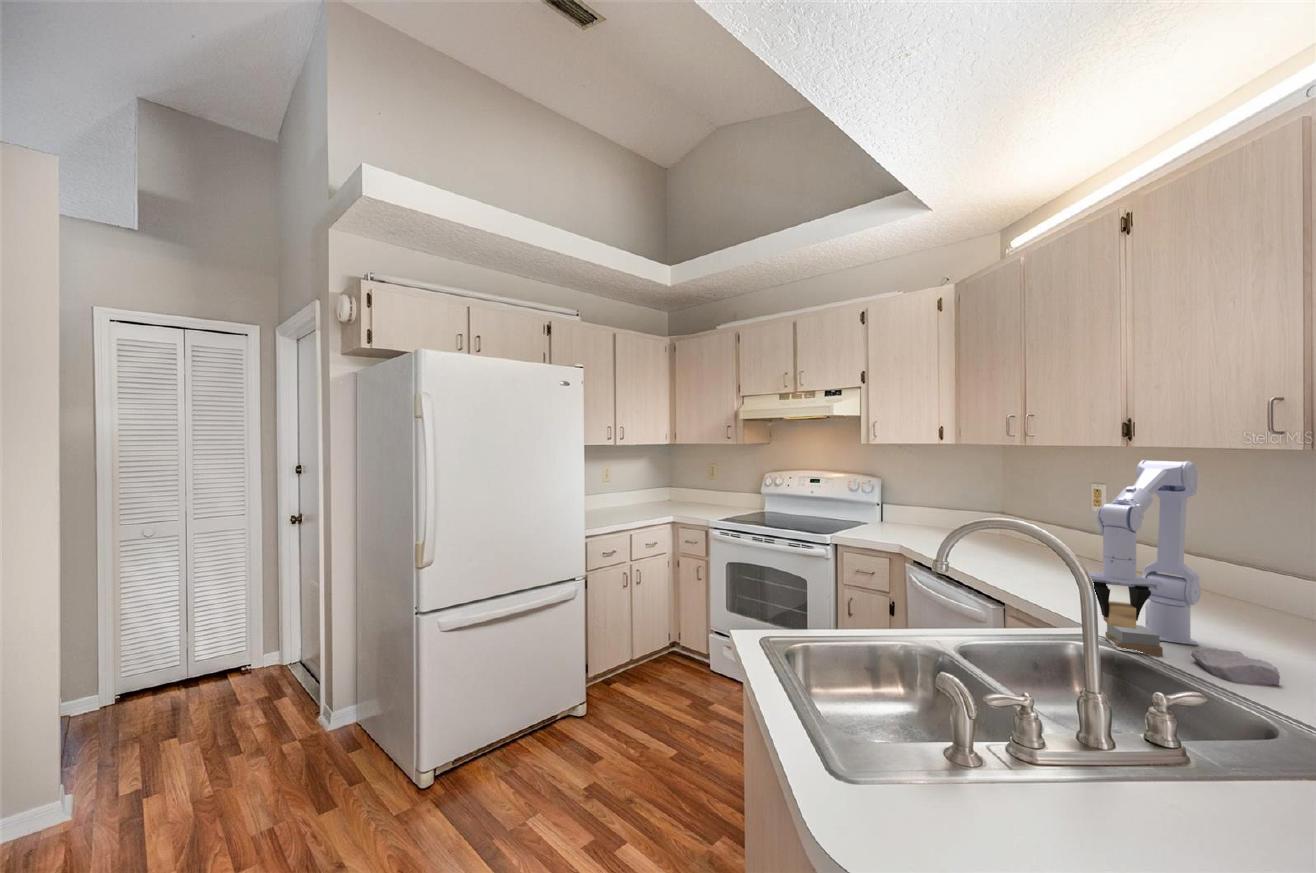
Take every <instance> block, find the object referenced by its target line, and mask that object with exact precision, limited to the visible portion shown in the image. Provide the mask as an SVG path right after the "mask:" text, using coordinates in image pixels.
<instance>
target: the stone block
mask: <svg viewBox="0 0 1316 873" xmlns="http://www.w3.org/2000/svg"><path fill="white" fill-rule="evenodd" d="M1190 656H1191V657H1192V659H1193V660H1194V661H1195V662H1196V663H1197V664H1199V665H1200V666H1201V667H1203V668H1204V669H1205V670H1206V671H1208V672H1209V673H1210V674H1212V675H1213V676H1215V677H1218V678H1220V679H1224V680H1226V681H1229V682H1232V683H1237V684H1244V685H1258V686H1259V685H1261V686H1262V685H1263V686H1275V687H1276V686H1277V687H1279V685H1280V684H1281V683H1280V682H1281V681H1280V680H1281V675H1280V672H1279V671H1278V668H1277V667H1276V666H1275V665H1273V664H1272V663H1271V662H1269V661H1265V660H1261V659H1255V658H1251V657H1248V656H1246V655H1245V654H1243V653H1242V651H1239V650H1227V649H1226V650H1225V649H1219V648H1216V647H1200V648H1193V649H1192V650H1191V652H1190Z"/></svg>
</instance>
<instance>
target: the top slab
mask: <svg viewBox="0 0 1316 873" xmlns="http://www.w3.org/2000/svg"><path fill="white" fill-rule="evenodd" d="M1106 632H1107V633H1108V634H1110V635H1111V636H1113V637H1114V638H1116V639H1117V640H1119V641H1120V642H1122V643H1129V644H1139V645H1149V646H1159V647H1160V646H1161V645H1160V642H1161V641H1160V635H1158V634H1156V633H1154V632H1152V631H1151V630H1149V629H1147V628H1145V626H1144V625H1138V624H1136V629H1133V628H1125V627H1116V626H1110V625H1109V624H1108V623H1107V622H1106Z"/></svg>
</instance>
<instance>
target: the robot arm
mask: <svg viewBox="0 0 1316 873" xmlns="http://www.w3.org/2000/svg"><path fill="white" fill-rule="evenodd" d="M1135 474H1136V480H1135V482H1134V483H1133V485H1132V486H1126V487H1125V488H1123V489H1122V491H1120V493H1119V494H1117V496H1116V497H1115V498H1114V499H1113V500H1112V502H1111V503H1105V504H1104V505H1100V507H1099V509H1098V512H1097V515H1096V516H1097V518H1096V519H1097V523H1098V526H1099V533H1100V536H1102V573H1101V572H1100V573H1099V572H1097V573H1095V572H1094V573H1093V572H1088V573H1089V575H1090V577H1091V579H1092V581H1093V583H1094V589H1095V592H1096V594H1095V596H1096V595H1097V597H1096V599H1097V602H1098V604H1099V607H1100V611H1101V612H1100V613H1101V615H1102V617H1103V616H1104V617H1108V618H1109V601H1110V594H1111V589H1110V588H1109V587H1108V585H1109V586H1120V587H1128V593H1129V604H1131V605H1132V606H1134V607H1135V608H1136V622H1137V621H1138V620H1139V618H1140V617H1139V616H1140V613H1141V611H1142V608H1143V607H1144V605H1145V607H1144V608H1145V617H1144V618H1145V626H1144V627H1145V628H1147V629H1149V630H1151V631H1152V632H1154V633H1156V634H1158V635H1160V642H1161V641H1162V642H1168V643H1177V644H1183V645H1192V646H1199V645H1200V644H1199V642H1197V641H1196V640H1194V639H1193V638H1191V607H1192V606H1195V605H1196V604H1198V602H1200V599H1201V596H1202V592H1201V591H1202V588H1201V584H1200V576H1199V574H1198V573H1197V572H1196V571H1195V570H1193V568H1191V567H1189V566H1188V565H1186V564H1185V562H1184V561H1185V540H1186V539H1185V538H1186V523H1187V522H1186V519H1187V503H1188V498H1189V497H1193V496H1196V495H1197V490H1198V470H1197V466H1196V465H1195V464H1194V463H1193V462H1192V461H1189V460H1186V461H1175V460H1174V461H1172V460H1171V461H1170V460H1168V461H1167V460H1147V459H1142V460H1140V462H1139V463H1138V464H1137V466H1136V473H1135ZM1153 494H1155V495H1157V497H1158V498H1159V510H1158V532H1157V549H1156V551H1157V552H1156V554H1157V555H1156V560H1155V561H1153V562H1150V563H1148V564H1147V565H1145V566H1144V567H1143V572H1142V576H1137V532H1138V531H1139V530H1140V529H1141V528H1142V524H1143V520H1144V517H1145V515H1144V514H1145V512H1146V511H1147V509H1149V507H1150V506H1151V505H1152V503H1153V496H1152V495H1153ZM1175 575H1176V576H1175ZM1095 592H1094V593H1095Z"/></svg>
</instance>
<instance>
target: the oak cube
mask: <svg viewBox="0 0 1316 873" xmlns="http://www.w3.org/2000/svg"><path fill="white" fill-rule="evenodd" d="M1102 618H1103V621H1104V622H1105V623H1106V624H1107V623H1108V624H1109V625H1110V626H1116V627H1125V628H1133V629H1136V625H1137V621H1136V608H1135V607H1134V606H1132V605H1131V604H1130V602H1123V601H1113V600H1109V618H1108V617H1104V616H1103V615H1102Z"/></svg>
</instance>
